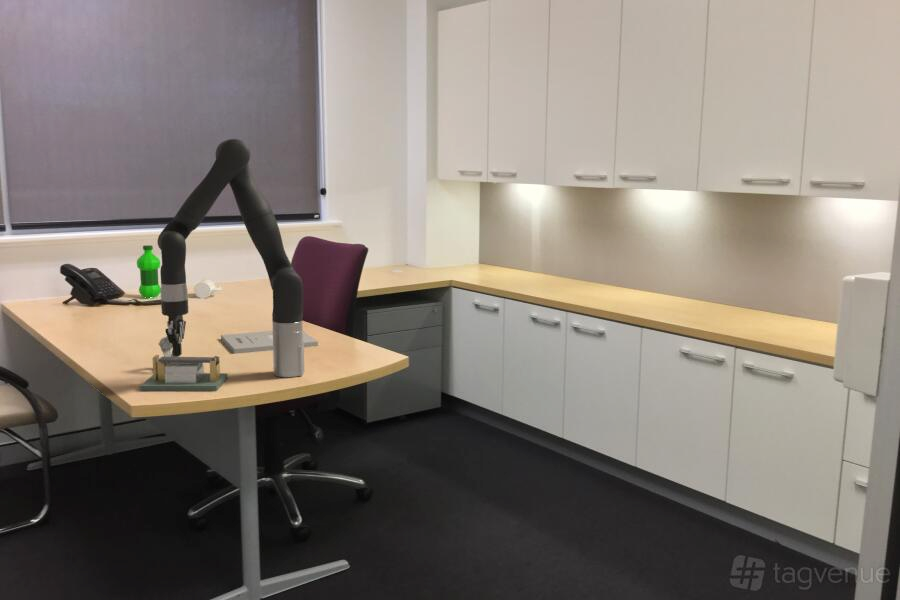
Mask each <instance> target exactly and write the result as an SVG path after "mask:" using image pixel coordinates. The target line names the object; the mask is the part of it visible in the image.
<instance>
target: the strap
mask: <svg viewBox="0 0 900 600" xmlns="http://www.w3.org/2000/svg"><path fill="white" fill-rule="evenodd" d="M218 357H219V356H217V355H215V356H212V357H211V356H205V357H204V356H178V357H164V356H161V357H159V359H158V362H183V363H203V364H210V361H216V362H217V361H218V360H219V359H220V357H219V358H218Z"/></svg>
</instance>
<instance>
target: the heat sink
mask: <svg viewBox="0 0 900 600" xmlns="http://www.w3.org/2000/svg"><path fill="white" fill-rule="evenodd" d="M204 373H205V366H204V363H183V362H171V363H169V364H167V366H165V384H196V383H197V382H198V381H199V380H200V379H201V378H202V377H203V376H204Z"/></svg>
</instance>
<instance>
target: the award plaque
mask: <svg viewBox="0 0 900 600" xmlns="http://www.w3.org/2000/svg"><path fill="white" fill-rule="evenodd" d="M220 340H221V341H222V343H224V344H225V345H226V347H228V348H229V350H230V351H232V353H233V354H234V355H238V354H247V353H257V352H258V353H259V352H266V351H267V352H269V351H273V330H266V331H265V330H264V331H253V332H240V333H229V334H221V335H220ZM303 342H304V348H312V347H311V346H313V347H319V341H317V340H316V339H315V338H313V337H312V336H310V335H309V334H307V333H306V332H305V331H303Z"/></svg>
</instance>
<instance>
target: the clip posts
mask: <svg viewBox="0 0 900 600" xmlns="http://www.w3.org/2000/svg"><path fill="white" fill-rule="evenodd" d="M217 357H218V358H219V360H218V361H217V362H216V361H210V363H209V373H210V382H216V381H218V380H219V379H220V373H221V363H220V362H221V360H220V356H217ZM151 358H152V359H151V360H152V375H153V378H154V381H157V380H158V381H165V366H167V364H168V362H158V359H160V355H159V354H155V355H154V356H153V357H151Z"/></svg>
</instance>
